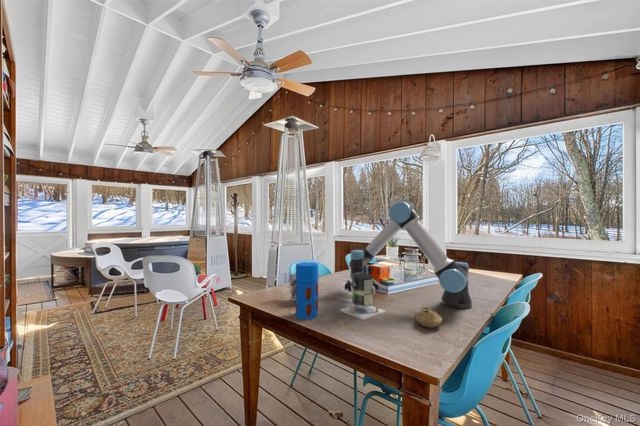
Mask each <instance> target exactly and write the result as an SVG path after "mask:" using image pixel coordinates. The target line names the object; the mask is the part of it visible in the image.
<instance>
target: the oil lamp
mask: <svg viewBox="0 0 640 426" xmlns="http://www.w3.org/2000/svg"><path fill="white" fill-rule="evenodd" d="M415 320H416V321H417V322H418V323H419V324H420V325H421V326H422V327H426V328H431V329H432V328H436V327H438V325H440V324H441V323H442V322H443V318H442V316H441V315H439V314H438V313H437V312H436V311H435V310H432V309H431V308H430V307H424V306H423V307H421V309H420V311H419V312H418V313H417V314H416V315H415Z"/></svg>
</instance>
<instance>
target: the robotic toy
mask: <svg viewBox="0 0 640 426" xmlns="http://www.w3.org/2000/svg"><path fill="white" fill-rule="evenodd" d="M287 282H288V283H289V286H288V285H287V288H290V287H291V288H290V294H291V297H290V298H291V300H295V301H296V273H292V274H290V275H289V279H288V281H287Z"/></svg>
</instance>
